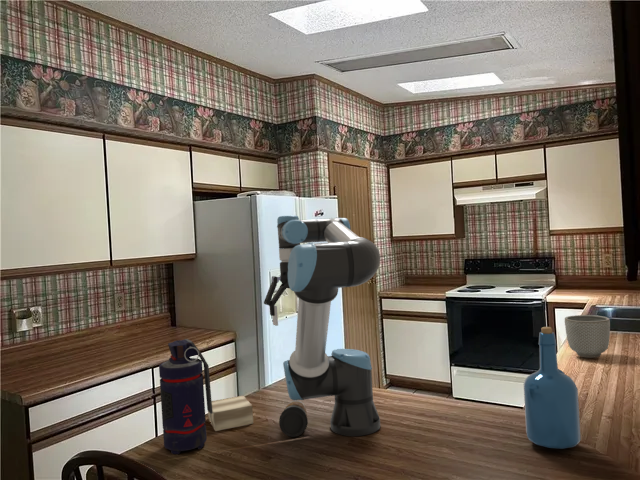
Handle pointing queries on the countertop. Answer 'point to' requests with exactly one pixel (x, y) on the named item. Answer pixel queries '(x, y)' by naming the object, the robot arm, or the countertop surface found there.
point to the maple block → (231, 413)
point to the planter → (588, 334)
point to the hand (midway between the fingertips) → (294, 322)
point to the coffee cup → (293, 419)
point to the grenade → (184, 397)
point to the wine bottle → (551, 400)
